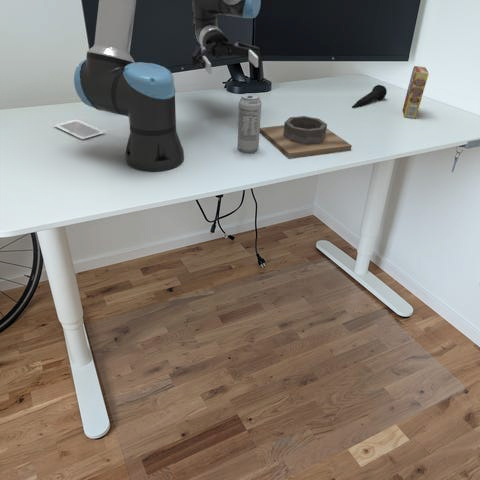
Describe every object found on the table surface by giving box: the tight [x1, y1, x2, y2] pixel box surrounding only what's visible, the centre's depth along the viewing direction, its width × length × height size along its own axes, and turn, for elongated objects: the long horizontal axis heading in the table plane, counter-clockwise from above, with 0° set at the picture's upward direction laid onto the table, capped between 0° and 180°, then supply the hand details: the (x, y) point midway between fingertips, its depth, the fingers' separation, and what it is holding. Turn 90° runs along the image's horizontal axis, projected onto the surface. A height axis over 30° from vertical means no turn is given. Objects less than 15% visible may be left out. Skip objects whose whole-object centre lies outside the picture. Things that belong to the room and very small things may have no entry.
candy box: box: [402, 65, 429, 119], centre depth 156 cm, size 9×4×15 cm, turn 167°
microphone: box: [351, 84, 388, 109], centre depth 169 cm, size 6×6×20 cm
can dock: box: [259, 115, 352, 159], centre depth 135 cm, size 20×20×6 cm
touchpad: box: [53, 118, 106, 140], centre depth 136 cm, size 8×15×2 cm, turn 49°
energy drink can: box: [236, 92, 262, 154], centre depth 125 cm, size 6×6×15 cm
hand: (233, 65), depth 126 cm, fingers open, 13 cm apart
